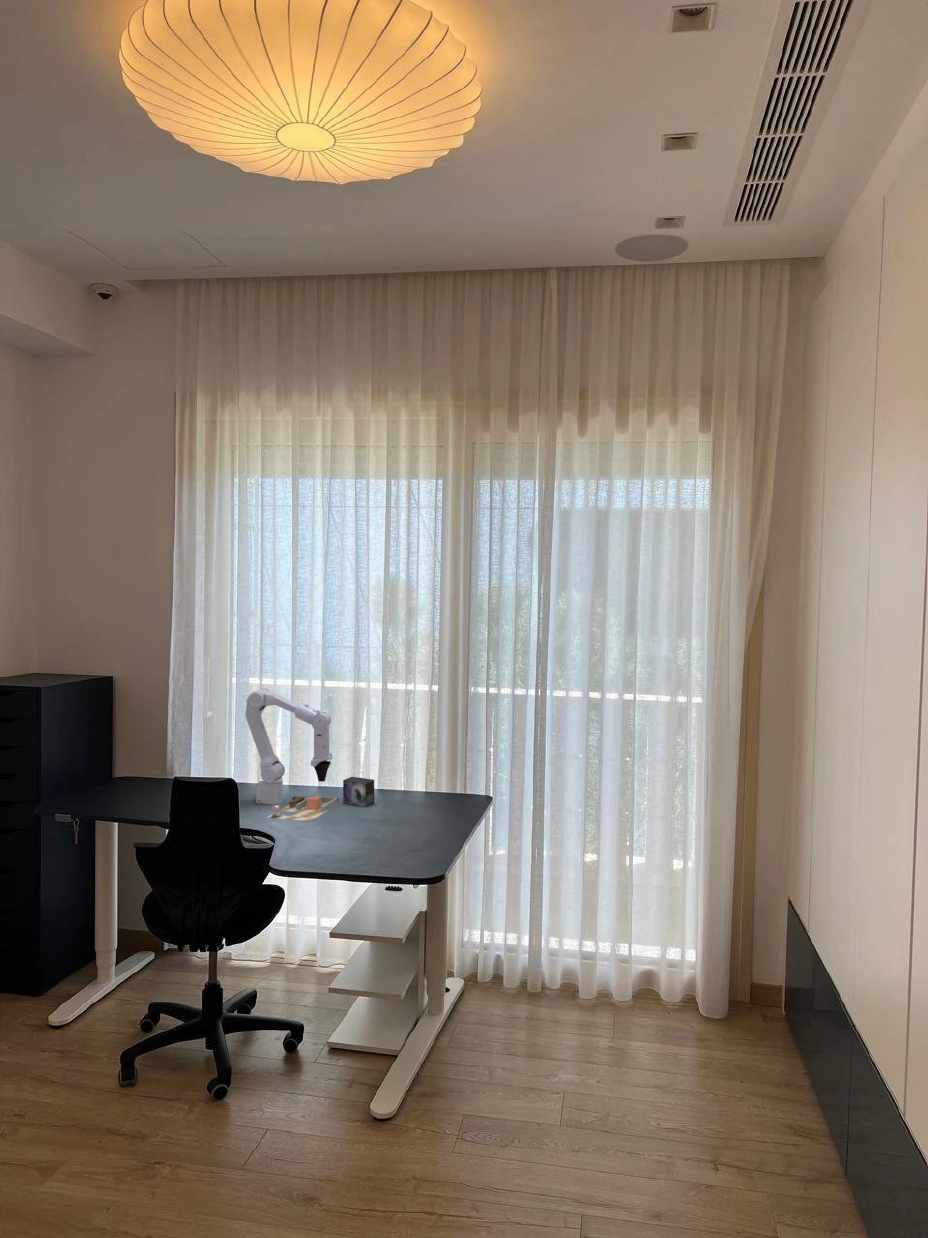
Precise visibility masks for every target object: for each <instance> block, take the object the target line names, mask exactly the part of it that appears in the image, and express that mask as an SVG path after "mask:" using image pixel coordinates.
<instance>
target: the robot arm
mask: <svg viewBox="0 0 928 1238" xmlns="http://www.w3.org/2000/svg"><path fill="white" fill-rule="evenodd" d="M245 703H246V706H245V707H246V709H245V714H244V717H245V719H246V722H247V724H248V728H249V730H250V733H251V735H252V738H253V742H254V744H255V747H256V749H257V753H258V755H259V757H260V764H259V767H260V777H261V780H259V782H258V783H257V785H256V791H255V795H256V797H255V798H256V802H255V803H257V804H263V805H277V804H278V805H280V804H282V803H283V801H284V794H283V793H284V792H283V791H284V788H283V787H284V785H283V783H284V782H283V780H284V779H283V776H284V775H285V772H286V768H285V765H284V764H283V763H282V762H281V761H280V758H279V757H278V756H277V755H276V754H275V752H274V749H273V746H272V744H271V741H270V739H269V738H270V737H269V735H268V732H267V730H266V727H265V724H264V721H263V719H262V714H263V712H264V710H265V708H267V707H269V706H277V707H279V708H280V709H281V708H282V709H283V710H287V711H288V712H291V713H293V714H294V717H295V718H296V719H298V720H300V721H303V722H305V723H306V724H309V725H311V726H312V729H313V757H312V759H311V760H310V767H313V768H314V770H315V773H316V776H317V777H316V778H317V780H318V781H317V782H323V783H324V782H325V781H326V778H327V774H328V771H329V768H330V766H331V763H332V762H331V760H333V753H332V752H331V753H330V724H331V723H332V717H331V716H330V714H329V713H327V712H326V711H321V710H320V709H314V708H313V707H311V706H310V704H308V703H305V704H304V703H301V704H297V703H296V702H293V701H291V700H290V699H288V698H286V697H284V696H282V695H281V694H278V693H277V692H275V690H270V689H269V688H261V689H258V690H254V691H253V692H251V693H250V694H249V695H248V697H247V698H246V700H245Z"/></svg>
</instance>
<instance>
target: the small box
mask: <svg viewBox="0 0 928 1238" xmlns="http://www.w3.org/2000/svg"><path fill="white" fill-rule="evenodd" d="M342 785H343V786H342V787H343V789H342V794H343V795H342V799H343V800H342V801H343V802H342V803H343V805H348V806H354V807H359V808H360V807H361V808H368V807H370V806H372V805H375V779H373V778H372V779H371V778H364V777H359V776H358V777H357V776H351V777H348V778H345V779H343V780H342Z"/></svg>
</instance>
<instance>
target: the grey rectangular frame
mask: <svg viewBox="0 0 928 1238" xmlns="http://www.w3.org/2000/svg"><path fill="white" fill-rule="evenodd" d="M317 796H318V797H322V803H326V804H325V805H323V806H321V812H325V811H326V810H328V809H330V808H331V807H333V806H335V805H336V804H338V803H340V802H339V800H340V799H339V797H333V796H321V795H317ZM338 805H339V804H338ZM305 806H307V798H304V800H303V801H301V802H300V803H298V804H296V810H300V809H301V808H303V807H305ZM336 806H337V805H336ZM336 806H335V807H336ZM333 808H334V807H333ZM331 809H332V808H331ZM331 809H330V810H331ZM328 811H329V810H328ZM326 812H327V811H326ZM326 812H325V813H326Z"/></svg>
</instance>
